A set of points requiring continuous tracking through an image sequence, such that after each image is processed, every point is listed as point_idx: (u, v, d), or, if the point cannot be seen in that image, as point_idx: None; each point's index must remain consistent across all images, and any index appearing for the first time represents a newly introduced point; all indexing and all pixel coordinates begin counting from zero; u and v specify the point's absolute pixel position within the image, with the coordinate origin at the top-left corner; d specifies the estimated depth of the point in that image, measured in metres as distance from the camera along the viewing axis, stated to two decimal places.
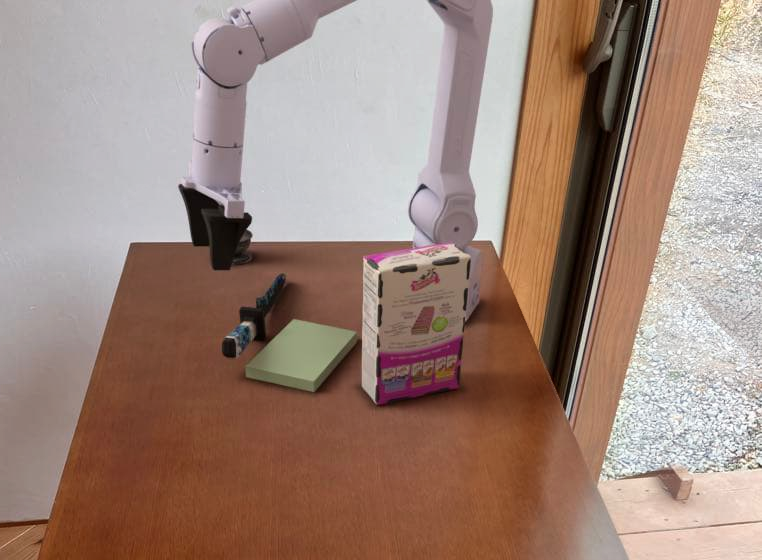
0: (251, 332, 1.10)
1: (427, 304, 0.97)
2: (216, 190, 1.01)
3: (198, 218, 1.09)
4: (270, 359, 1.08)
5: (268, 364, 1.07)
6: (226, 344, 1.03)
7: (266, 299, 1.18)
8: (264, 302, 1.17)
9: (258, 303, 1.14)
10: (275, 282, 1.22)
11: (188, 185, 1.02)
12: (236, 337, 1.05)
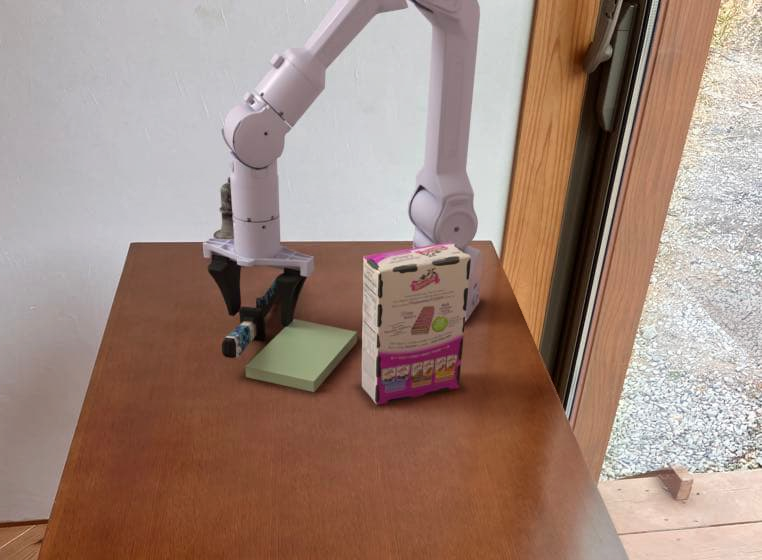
0: (251, 332, 1.10)
1: (427, 304, 0.97)
2: (275, 257, 1.09)
3: (232, 289, 1.15)
4: (270, 359, 1.08)
5: (268, 364, 1.07)
6: (226, 344, 1.03)
7: (266, 299, 1.18)
8: (264, 302, 1.17)
9: (258, 303, 1.14)
10: (275, 282, 1.22)
11: (252, 264, 1.08)
12: (236, 337, 1.05)
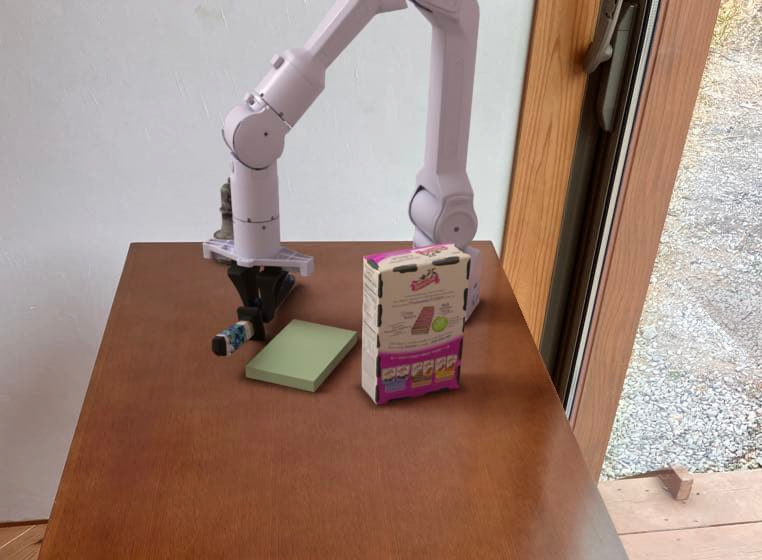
0: (247, 331, 1.10)
1: (427, 304, 0.97)
2: (275, 258, 1.09)
3: (251, 294, 1.14)
4: (270, 359, 1.08)
5: (268, 364, 1.07)
6: (215, 342, 1.03)
7: None
8: None
9: (257, 303, 1.14)
10: None
11: (252, 264, 1.08)
12: (227, 335, 1.04)
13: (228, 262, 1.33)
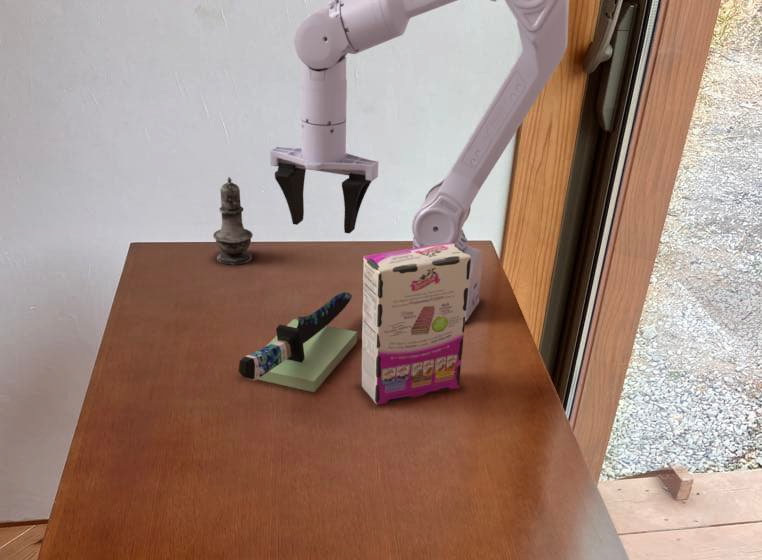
0: (282, 353, 1.03)
1: (427, 304, 0.97)
2: (341, 162, 1.14)
3: (296, 198, 1.19)
4: None
5: None
6: (243, 364, 0.96)
7: (315, 318, 1.11)
8: (311, 321, 1.10)
9: (301, 322, 1.07)
10: (332, 301, 1.14)
11: (319, 167, 1.12)
12: (257, 357, 0.98)
13: (228, 262, 1.33)
